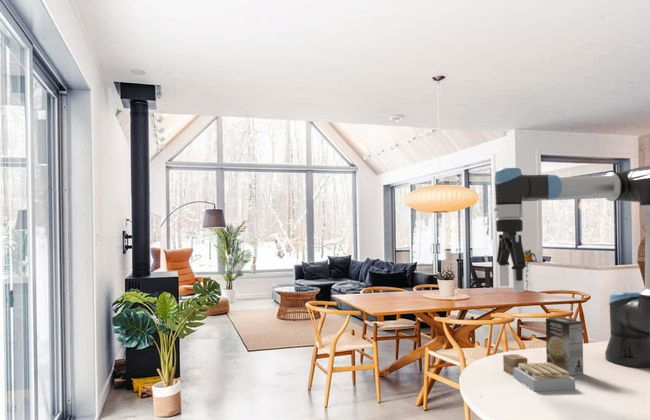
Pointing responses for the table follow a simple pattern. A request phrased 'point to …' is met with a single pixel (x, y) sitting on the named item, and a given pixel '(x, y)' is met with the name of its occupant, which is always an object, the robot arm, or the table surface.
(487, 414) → the table surface
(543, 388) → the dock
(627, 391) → the table surface
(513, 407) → the table surface
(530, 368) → the pallet
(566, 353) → the coffee box
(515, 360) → the light brown cube
